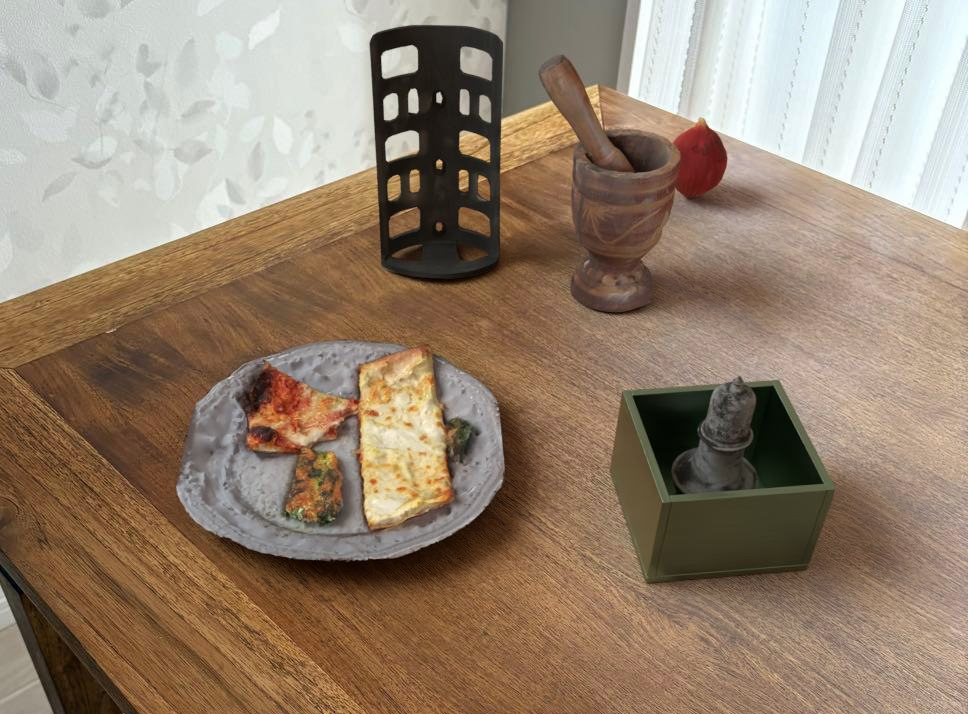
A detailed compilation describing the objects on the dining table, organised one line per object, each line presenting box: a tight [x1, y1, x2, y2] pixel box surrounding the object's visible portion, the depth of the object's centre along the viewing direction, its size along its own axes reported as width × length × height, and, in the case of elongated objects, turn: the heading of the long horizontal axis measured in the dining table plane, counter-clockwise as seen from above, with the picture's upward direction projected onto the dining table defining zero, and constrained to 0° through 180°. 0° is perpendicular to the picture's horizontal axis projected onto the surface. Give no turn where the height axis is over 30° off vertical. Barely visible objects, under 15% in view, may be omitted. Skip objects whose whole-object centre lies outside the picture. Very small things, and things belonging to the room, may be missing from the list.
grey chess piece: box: [671, 375, 759, 495], centre depth 74 cm, size 6×6×12 cm
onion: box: [672, 117, 728, 199], centre depth 107 cm, size 6×6×8 cm
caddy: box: [609, 379, 837, 584], centre depth 76 cm, size 11×11×8 cm
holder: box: [369, 24, 504, 280], centre depth 96 cm, size 11×8×20 cm
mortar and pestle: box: [537, 53, 681, 313], centre depth 91 cm, size 12×9×20 cm
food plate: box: [175, 338, 506, 563], centre depth 82 cm, size 25×23×4 cm
